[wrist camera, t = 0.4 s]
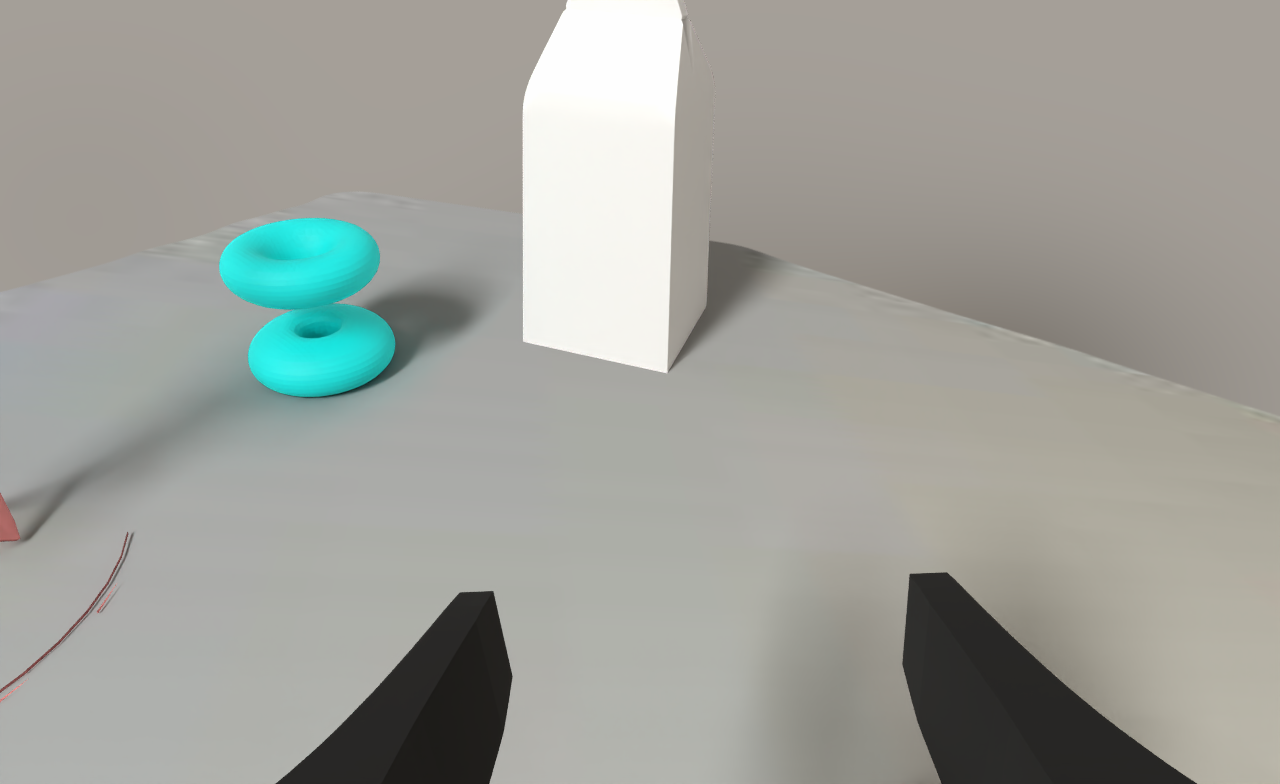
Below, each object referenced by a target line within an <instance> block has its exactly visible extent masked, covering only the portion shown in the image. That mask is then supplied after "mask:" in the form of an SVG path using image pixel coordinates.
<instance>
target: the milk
mask: <svg viewBox="0 0 1280 784" xmlns="http://www.w3.org/2000/svg"><path fill="white" fill-rule="evenodd" d="M566 8H567V9H566V10H565V11H564V12H563V13H562V15H561V18H560V19H559V21H558V23H557V25H556V28H555V29H554V31H553V33H552V35H551V37H550V39H549V41H548V43H547V45H546V47H545V49H544V51H543V53H542V55H541V57H540V59H539V61H538V63H537V65H536V67H535V70H534V72H533V74H532V76H531V78H530V81H529V84H528V87H527V89H526V93H525V98H524V105H523V342H527V343H532V344H536V345H541V346H545V347H550V348H555V349H559V350H564V351H568V352H573V353H577V354H582V355H586V356H591V357H595V358H600V359H604V360H609V361H614V362H618V363H623V364H627V365H632V366H636V367H641V368H645V369H650V370H654V371H659V372H664V373H668V371H669V369H670V368H671V366H672V364H673V363H674V361H675V359H676V357H677V356H678V354H679V352H680V351H681V349H682V347H683V345H684V344H685V342H686V340H687V339H688V337H689V335H690V333H691V332H692V330H693V328H694V327H695V325H696V323H697V321H698V320H699V318H700V316H701V315H702V313H703V311H704V309H705V308H706V304H707V280H708V256H709V232H710V209H711V184H712V161H713V136H714V135H713V134H714V112H715V83H714V77H713V73H712V70H711V67H710V65H709V62H708V60H707V57H706V55H705V53H704V50H703V48H702V46H701V44H700V41H699V39H698V36H697V34H696V32H695V30H694V27H693V25H692V23H691V20H690V19H689V18H687V16H688V12H687V8H686V5H685V1H684V0H568V1H567V4H566Z"/></svg>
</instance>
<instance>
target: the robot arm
mask: <svg viewBox="0 0 1280 784" xmlns="http://www.w3.org/2000/svg"><path fill="white" fill-rule="evenodd" d="M903 668H904V672H905V676H906V680H907V684H908V688H909V692H910V696H911V699H912V703H913V706H914V710H915V714H916V717H917V721H918V724H919V727H920V729H921V732H922V734H923V737H924V740H925V742H926V745H927V747H928V750H929V752H930V755H931V758H932V760H933V763H934V765H935V768H936V770H937V773H938V775H939V778H940V780H941V783H942V784H1197V783H1195V782H1194V781H1192V780H1191V779H1189V778H1188V777H1186V776H1185V775H1183V774H1182V773H1180V772H1179V771H1177V770H1176V769H1174V768H1173V767H1171V766H1170V765H1168V764H1167V763H1166V762H1164V761H1163V760H1161V759H1160V758H1159V757H1157V756H1156V755H1154V754H1153V753H1152V752H1150V751H1149V750H1148V749H1146V748H1145V747H1143V746H1142V745H1141V744H1139V743H1138V742H1137V741H1135V740H1134V739H1133V738H1131V737H1130V736H1128V735H1127V734H1126V733H1124V732H1123V731H1122V730H1120V729H1119V728H1118V727H1116V726H1115V725H1114V724H1112V723H1111V722H1110V721H1109V720H1107V719H1106V718H1105V717H1103V716H1102V715H1101V714H1100V713H1098V712H1097V711H1096V710H1095V709H1093V708H1092V707H1091V706H1090V705H1089V704H1087V703H1086V702H1085V701H1084V700H1083V699H1081V698H1080V697H1079V696H1078V695H1077V694H1075V693H1074V692H1073V691H1072V690H1071V689H1069V688H1068V687H1067V686H1066V685H1065V684H1064V683H1063V682H1061V681H1060V680H1059V679H1058V678H1057V677H1056V676H1055V675H1053V674H1052V673H1051V672H1050V671H1049V670H1048V669H1047V668H1046V667H1045V666H1043V665H1042V664H1041V663H1040V662H1039V661H1038V660H1037V659H1036V658H1035V657H1034V656H1033V655H1031V654H1030V653H1029V652H1028V651H1027V650H1026V649H1025V648H1024V647H1023V646H1022V645H1021V644H1019V643H1018V642H1017V641H1016V640H1015V639H1014V638H1013V637H1012V636H1011V635H1010V634H1009V633H1008V632H1007V631H1006V630H1005V629H1004V628H1003V627H1002V626H1001V625H1000V624H999V623H998V622H997V621H996V620H995V619H994V618H993V617H992V616H991V615H990V614H988V613H987V612H986V611H985V610H984V609H983V608H982V607H981V606H980V605H979V604H978V603H977V602H976V601H975V600H974V598H973V597H972V596H971V595H970V594H969V593H968V592H967V591H966V590H965V589H964V588H963V587H962V586H961V585H960V584H959V583H958V582H957V581H956V580H955V579H954V578H952V577H951V576H950V575H949V574H948V573H947V572H946V573H922V574H910V577H909V590H908V602H907V614H906V627H905V639H904V651H903ZM511 683H512V672H511V668H510V663H509V659H508V655H507V650H506V646H505V641H504V637H503V632H502V628H501V623H500V619H499V615H498V610H497V606H496V601H495V597H494V592H493V591H486V592H461V593H459V594H458V595H457V596H456V597H455V598H454V600H453V601H452V602H451V603H450V604H449V605H448V606H447V608H446V609H445V610H444V611H443V612H442V614H441V615H440V616H439V617H438V618H437V619H436V621H435V622H434V623H433V624H432V625H431V627H430V628H429V629H428V630H427V631H426V633H425V634H424V635H423V636H422V637H421V638H420V640H419V641H418V642H417V643H416V644H415V645H414V647H413V648H412V649H411V650H410V651H409V652H408V654H407V655H406V656H405V657H404V658H403V659H402V660H401V661H400V663H399V664H398V665H397V666H396V667H395V668H394V669H393V670H392V672H391V673H390V674H389V675H388V676H387V677H386V678H385V679H384V681H383V682H382V683H381V684H380V685H379V686H378V687H377V688H376V689H375V690H374V691H373V693H372V694H371V695H370V696H369V697H368V698H367V699H366V700H365V701H364V702H363V703H362V704H361V705H360V706H359V707H358V708H357V709H356V710H355V711H354V712H353V713H352V714H351V715H350V716H349V717H348V718H347V719H346V720H345V721H344V722H343V723H342V725H340V726H339V727H338V728H337V729H336V730H335V731H334V732H333V733H332V734H331V735H330V736H329V737H328V738H327V739H326V740H325V741H324V742H323V743H322V744H321V745H320V746H319V747H317V748H316V749H315V750H314V751H313V752H312V753H311V754H310V755H308V756H307V757H306V758H305V759H304V760H303V761H302V762H301V763H299V764H298V765H297V766H296V767H295V768H294V769H293V770H291V771H290V772H289V773H288V774H287V775H286V776H284V777H283V778H282V779H281V780H280V781H278V782H277V783H276V784H489V783H490V779H491V776H492V772H493V768H494V765H495V761H496V758H497V754H498V751H499V747H500V744H501V740H502V736H503V732H504V726H505V721H506V715H507V709H508V703H509V696H510V689H511Z"/></svg>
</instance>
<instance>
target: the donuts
mask: <svg viewBox="0 0 1280 784" xmlns="http://www.w3.org/2000/svg"><path fill="white" fill-rule="evenodd" d="M379 263H380V253H379V248H378V246H377V244H376V242H375V240H374V239H373V238H372V236H371V235H370V234H369V233H368V232H366V231H365V230H363V229H362V228H360V227H358V226H356V225H354V224H351V223H348V222H345V221H341V220H335V219H326V218H301V219H291V220H285V221H279V222H274V223H270V224H266V225H263V226H260V227H257V228H254V229H252V230H250V231H247V232H246V233H244V234H242V235H240V236H238V237H237V238H235V239H234V240H233V241H232V242H231V243H230V244H229V245H228V246H227V247H226V248H225V250H224V251H223V253H222V255H221V258H220V262H219V270H220V274H221V277H222V280H223V281H224V283H225V285H226V286H227V287H228V288H229V289H230V290H231V291H232V292H233V293H234V294H235V295H237V296H238V297H240V298H242V299H243V300H245V301H247V302H250V303H253V304H256V305H259V306H262V307H267V308H273V309H289V310H292V311H289V312H287V313H285V314H282V315H280V316H278V317H277V318H275V319H273V320H272V321H270V322H269V323H267V324H266V325H265V326H264V327H263V328H262V329H261V330H260V331H259V332H258V333H257V334H256V335H255V337H254V339H253V340H252V342H251V344H250V347H249V351H248V363H249V366H250V369H251V371H252V373H253V375H254V376H255V377H256V379H257V380H258V381H259V382H261V383H262V384H263V385H264V386H266V387H268V388H269V389H271V390H274V391H276V392H279V393H282V394H286V395H291V396H298V397H320V396H328V395H333V394H338V393H342V392H345V391H349V390H352V389H354V388H357V387H359V386H362V385H364V384H366V383H367V382H369V381H371V380H372V379H374V378H375V377H376V376H378V375H379V374H380V373H381V372H382V371H383V370H384V369H385V368H386V367H387V366H388V364H389V363H390V361H391V359H392V357H393V355H394V351H395V338H394V334H393V332H392V330H391V328H390V326H389V325H388V324H387V322H386V321H385V320H384V319H382V318H381V317H380V316H379V315H377V314H376V313H374V312H372V311H370V310H367V309H365V308H362V307H358V306H354V305H348V304H334V303H335V302H338V301H340V300H343V299H345V298H347V297H349V296H351V295H353V294H355V293H357V292H358V291H360V290H361V289H362V288H363V287H365V286H366V285H367V284H368V283H369V282H370V281H371V280H372V278H373V277H374V275H375V274H376V272H377V269H378V266H379ZM294 309H295V310H294Z"/></svg>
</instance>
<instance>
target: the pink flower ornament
mask: <svg viewBox="0 0 1280 784" xmlns="http://www.w3.org/2000/svg"><path fill="white" fill-rule="evenodd" d="M127 537H128V532H127V535H126V539H125V542H124V546H123V550H122V553H121V556H120V558H119V560H118V562H117V564H116V566H115V568H114V570H113V572H112V574H111V576H110V578H109V580H108V582H107V583H106V585H105V586H104V587H103V589H102V590H101V592H100V593H99V594H98V596H97V597H96V599H95V600H94V601H93V603H92V604H91V606H90V607H89V608H88V610H87V611H86V612H85V613H84V614H83V615H82V616H81V618H80V619H79V620H78V621H77V622H76V623H75V624H74V625H73V626H72V627H71V628H70V629H69V631H68V632H67V633H66V634H65V635H64V636H63V637H62V638H61V639H60V640H59V641H58V642H57V643H56V644H55V645H54V646H53V647H52V648H50V649H49V650H48V651H47V652H46V653H45V654H44V655H43V656H41V657H40V658H39V659H38V660H37V661H36V662H35V663H34V664H32V665H31V666H30V667H29V668H28V669H27V670H26V671H25V672H23V673H22V674H21V675H19V676H18V677H17V678H15V679H14V680H13V681H11V682H10V683H9V684H7V685H6V686H5V687H3V688H2V689H1V690H0V693H1V692H2V691H3V690H5V689H6V688H7V687H9V686H10V685H11V684H13V683H14V682H15V681H17V680H18V679H19V678H21V677H22V676H23V675H25V674H26V673H27V672H28V671H29V670H30V669H31V668H33V667H34V666H35V665H36V664H37V663H38V662H39V661H40V660H42V659H43V658H44V657H45V656H46V655H47V654H48V653H49V652H51V651H52V650H53V649H54V648H55V647H56V646H57V645H58V644H60V642H61V641H62V640H63V639H64V638H65V637H66V636H67V635H68V634H69V633H70V632H71V630H72V629H73V628H74V627H75V626H76V625H77V624H78V623H79V622H80V621H81V620H82V619H83V617H84V616H85V615H86V614H87V613H88V612H89V610H90V609H91V608H92V606H93V605H94V603H95V602H96V601H97V599H98V598H99V596H100V595H101V594H102V592H103V591H104V589H105V588H106V587H107V585H108V584H109V582H110V580H111V578H112V576H113V574H114V572H115V570H116V568H117V566H118V564H119V562H120V560H121V558H122V555H123V551H124V548H125V544H126V541H127ZM19 539H20V536H19V533H18V530H17V527H16V524H15V521H14V519H13V517H12V515H11V513H10V511H9V509H8V507H7V505H6V503H5V501H4V499H3V497H2V495H1V493H0V542H2V541H17V540H19ZM115 586H116V585H115ZM113 589H114V588H113ZM113 589H112V590H113ZM111 592H112V591H111ZM111 592H110V594H111ZM110 594H109V595H110ZM109 595H108V597H109ZM108 597H107V598H108ZM107 598H106V599H105V601H104V602H103V604H102V605H101V607H100V608H99V609H98V611H97V613H99V611H100V610H101V608H102V606H103V605H104V603H105V602H106V600H107ZM27 680H28V679H27ZM23 683H24V682H23ZM23 683H22V684H23ZM22 684H21V685H22ZM19 686H20V685H19ZM19 686H18V687H19ZM18 687H17V688H18ZM17 688H15V689H14V690H16V689H17ZM14 690H13V691H14ZM13 691H11V692H10V693H9V694H11V693H12V692H13ZM9 694H7V695H6V696H5V697H3V698H2V699H1V700H0V702H1V701H2V700H3V699H5V698H6V697H7V696H8V695H9Z"/></svg>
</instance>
